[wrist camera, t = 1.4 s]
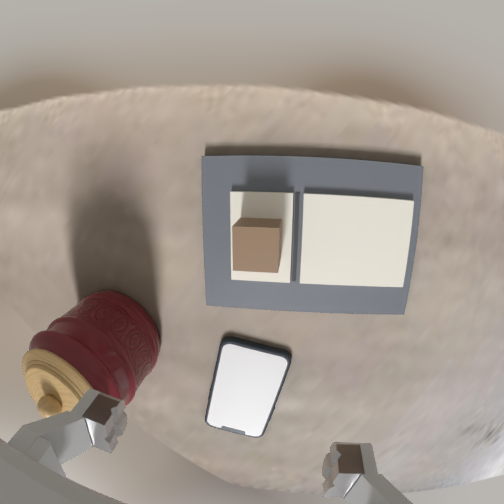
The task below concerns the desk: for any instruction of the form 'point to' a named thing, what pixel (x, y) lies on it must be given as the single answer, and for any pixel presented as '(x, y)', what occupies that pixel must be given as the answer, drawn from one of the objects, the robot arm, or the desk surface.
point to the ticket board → (319, 232)
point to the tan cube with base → (261, 235)
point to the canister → (91, 353)
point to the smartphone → (246, 386)
